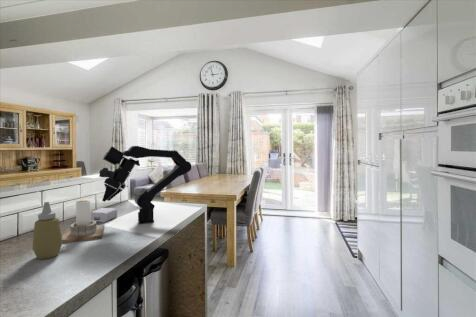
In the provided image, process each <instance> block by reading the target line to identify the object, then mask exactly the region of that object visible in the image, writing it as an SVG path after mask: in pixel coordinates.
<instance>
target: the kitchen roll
mask: <svg viewBox="0 0 476 317" xmlns="http://www.w3.org/2000/svg"><path fill="white" fill-rule="evenodd" d="M75 210H76V211H75V216H76V219H75V220H76V221H75V222H76V223H77V226H87V225H91V212H92V211H91V210H92V209H91V199H88V198H86V199H78V200H76V201H75Z"/></svg>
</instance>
